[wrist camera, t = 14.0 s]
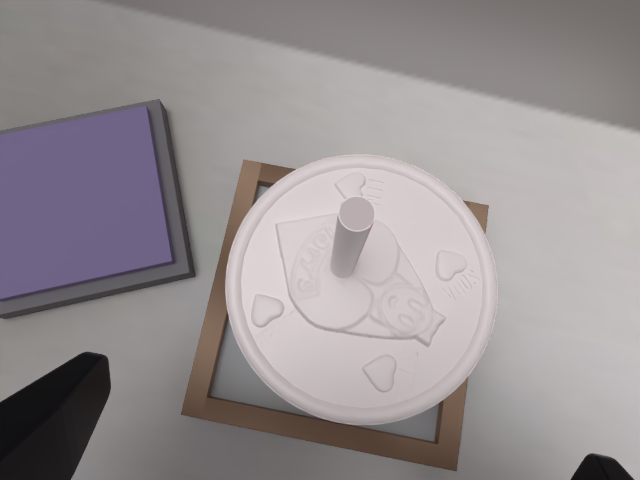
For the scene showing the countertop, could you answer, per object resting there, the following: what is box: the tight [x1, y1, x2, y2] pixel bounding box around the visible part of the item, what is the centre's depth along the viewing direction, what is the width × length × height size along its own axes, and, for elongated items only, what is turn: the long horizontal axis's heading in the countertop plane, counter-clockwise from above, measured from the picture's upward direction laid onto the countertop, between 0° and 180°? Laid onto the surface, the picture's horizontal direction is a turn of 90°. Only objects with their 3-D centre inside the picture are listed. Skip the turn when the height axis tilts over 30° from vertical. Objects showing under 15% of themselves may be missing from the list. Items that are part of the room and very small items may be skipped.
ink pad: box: [0, 99, 195, 319], centre depth 22 cm, size 8×8×2 cm
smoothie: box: [225, 154, 498, 425], centre depth 14 cm, size 6×6×14 cm
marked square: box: [181, 160, 489, 471], centre depth 21 cm, size 11×11×1 cm
